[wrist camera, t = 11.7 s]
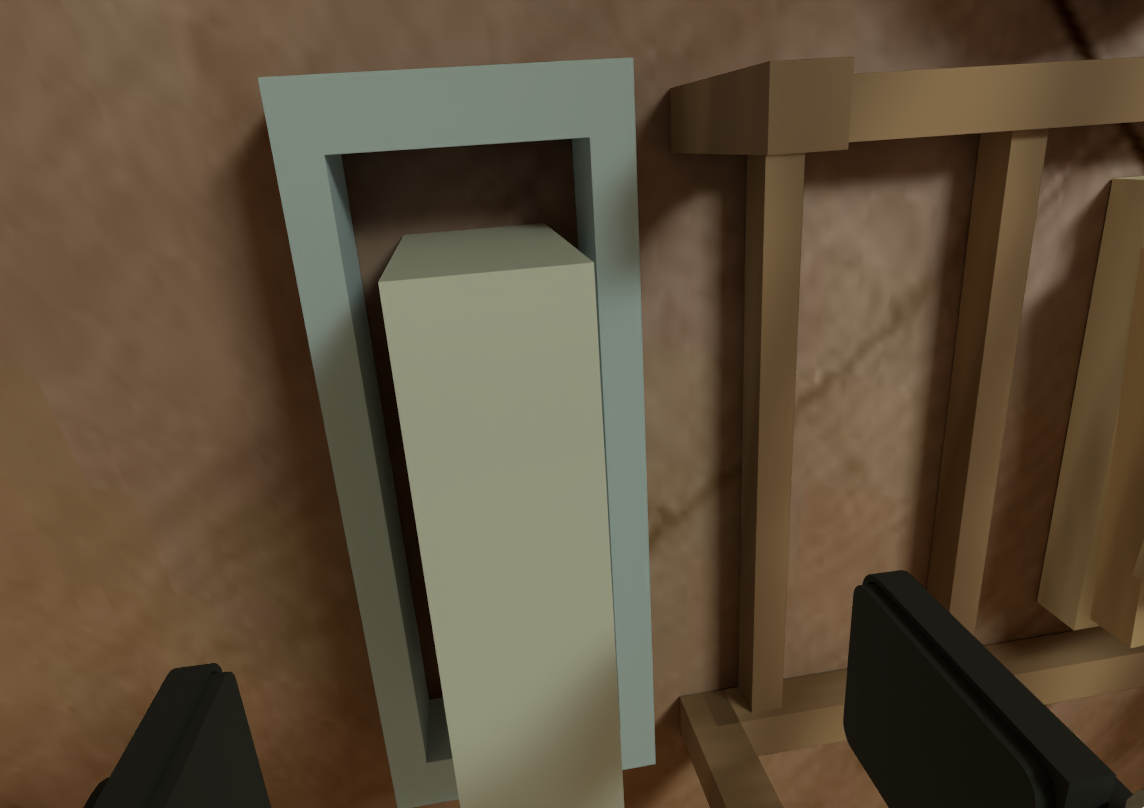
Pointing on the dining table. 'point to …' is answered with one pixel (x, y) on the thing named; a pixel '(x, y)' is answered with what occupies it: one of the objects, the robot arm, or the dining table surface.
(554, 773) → the pale sage tall block
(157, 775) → the robot arm
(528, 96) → the cradle
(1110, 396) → the offcuts
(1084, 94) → the rack
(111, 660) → the dining table surface
